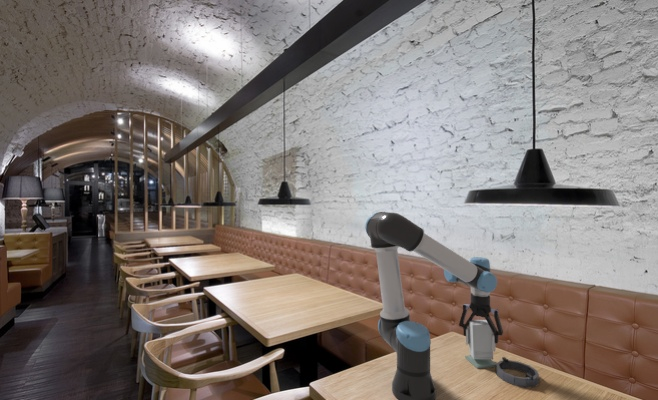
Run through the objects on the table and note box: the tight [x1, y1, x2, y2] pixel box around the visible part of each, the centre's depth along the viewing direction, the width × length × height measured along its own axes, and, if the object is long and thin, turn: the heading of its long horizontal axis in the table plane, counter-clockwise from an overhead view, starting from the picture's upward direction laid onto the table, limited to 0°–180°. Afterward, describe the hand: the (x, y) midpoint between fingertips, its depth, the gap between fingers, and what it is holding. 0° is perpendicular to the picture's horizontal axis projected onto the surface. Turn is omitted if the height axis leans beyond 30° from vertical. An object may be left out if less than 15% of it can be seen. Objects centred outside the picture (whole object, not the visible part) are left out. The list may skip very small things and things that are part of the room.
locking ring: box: [495, 356, 540, 388], centre depth 124 cm, size 14×15×4 cm
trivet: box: [464, 354, 497, 369], centre depth 136 cm, size 9×9×1 cm
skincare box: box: [468, 319, 494, 361], centre depth 136 cm, size 8×6×15 cm
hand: (480, 346), depth 136 cm, fingers closed on skincare box, 10 cm apart
